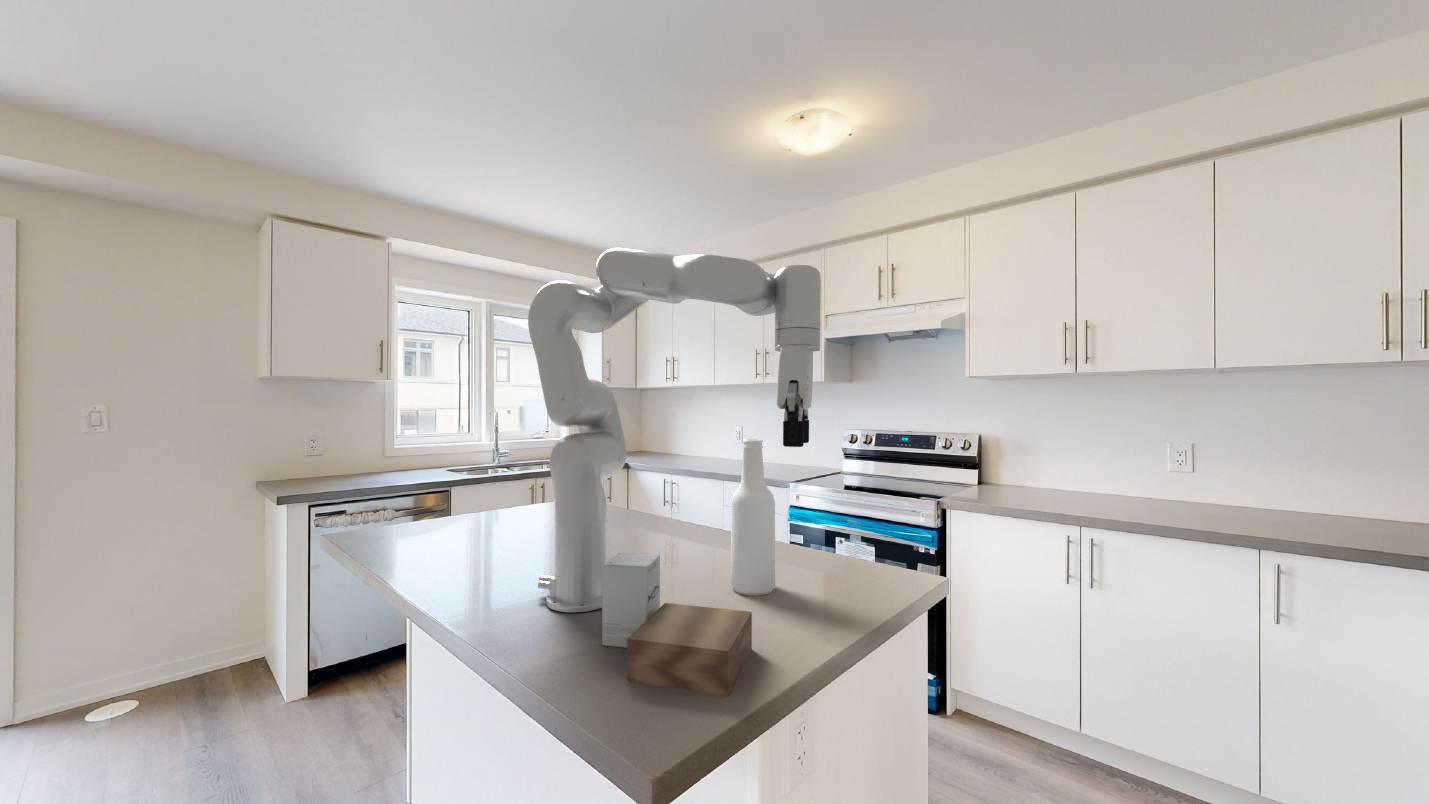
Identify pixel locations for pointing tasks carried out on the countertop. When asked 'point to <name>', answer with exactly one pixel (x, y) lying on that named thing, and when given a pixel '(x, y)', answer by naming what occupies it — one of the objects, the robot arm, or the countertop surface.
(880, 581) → the countertop surface
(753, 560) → the white bottle
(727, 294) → the robot arm
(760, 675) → the countertop surface
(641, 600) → the supplement box
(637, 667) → the walnut block
